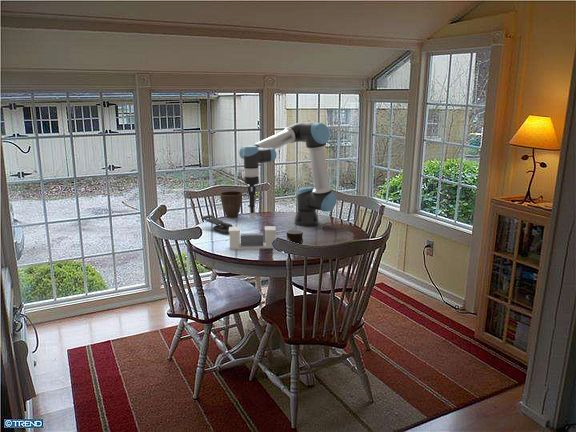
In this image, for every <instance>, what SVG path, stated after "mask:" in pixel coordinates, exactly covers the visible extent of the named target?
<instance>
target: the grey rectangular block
mask: <svg viewBox="0 0 576 432" xmlns="http://www.w3.org/2000/svg"><path fill="white" fill-rule="evenodd" d="M240 243H241V246H263V243H264V232H256V233H255V232H253V233H251V232H250V233H248V232H247V233H241V232H240Z"/></svg>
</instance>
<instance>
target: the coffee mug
mask: <svg viewBox="0 0 576 432" xmlns="http://www.w3.org/2000/svg"><path fill="white" fill-rule="evenodd" d="M303 233H304V231H303V230H302V229H296V228H295V229H289V230H286V240H289V241H292V242H295V243H299V244H302V245H303V242H304V238H303Z"/></svg>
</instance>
